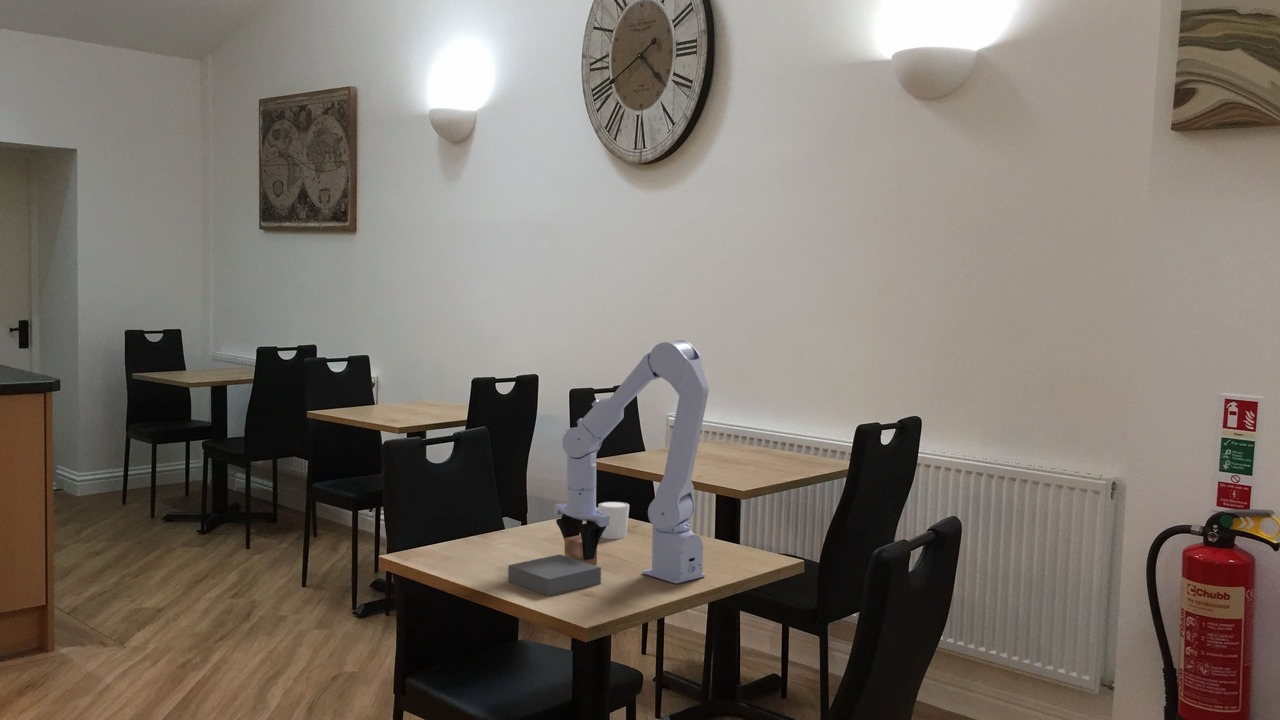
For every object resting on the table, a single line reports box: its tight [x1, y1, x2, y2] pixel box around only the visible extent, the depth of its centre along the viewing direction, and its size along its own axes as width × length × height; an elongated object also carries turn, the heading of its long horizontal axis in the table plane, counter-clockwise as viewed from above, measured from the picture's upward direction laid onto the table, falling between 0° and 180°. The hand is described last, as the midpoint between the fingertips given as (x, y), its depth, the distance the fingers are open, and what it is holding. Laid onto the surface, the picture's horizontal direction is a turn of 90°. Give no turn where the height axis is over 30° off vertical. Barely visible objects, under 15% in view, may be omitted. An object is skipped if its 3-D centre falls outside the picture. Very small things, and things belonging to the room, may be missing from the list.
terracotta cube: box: [564, 534, 598, 566], centre depth 202 cm, size 4×4×5 cm
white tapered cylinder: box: [597, 501, 630, 540], centre depth 225 cm, size 7×7×7 cm
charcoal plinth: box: [507, 554, 602, 597], centre depth 189 cm, size 12×12×3 cm
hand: (580, 556), depth 202 cm, fingers closed on terracotta cube, 4 cm apart
